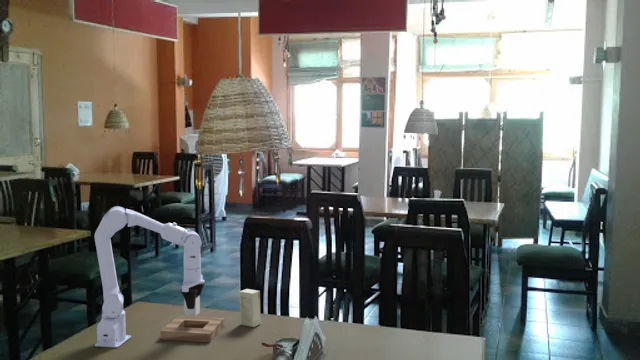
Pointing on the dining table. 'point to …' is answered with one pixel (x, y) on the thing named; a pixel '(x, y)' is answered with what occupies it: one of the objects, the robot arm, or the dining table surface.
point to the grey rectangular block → (196, 308)
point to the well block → (192, 329)
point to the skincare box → (250, 307)
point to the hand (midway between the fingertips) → (193, 306)
